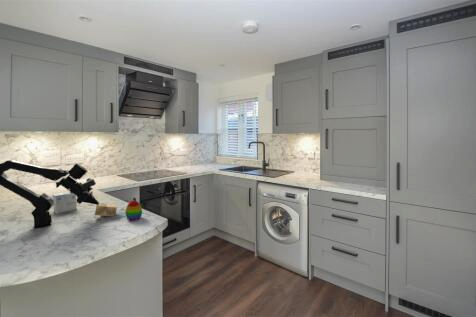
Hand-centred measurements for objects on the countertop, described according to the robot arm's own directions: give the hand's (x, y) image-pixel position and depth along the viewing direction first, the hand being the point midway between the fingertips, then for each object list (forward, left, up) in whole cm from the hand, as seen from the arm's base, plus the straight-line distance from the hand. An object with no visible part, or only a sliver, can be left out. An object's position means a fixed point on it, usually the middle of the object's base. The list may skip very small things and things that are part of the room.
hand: (98, 203), depth 136 cm
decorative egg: (+14, -15, -8) cm, 22 cm away
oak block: (-1, 0, -3) cm, 3 cm away
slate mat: (+7, -2, -8) cm, 10 cm away
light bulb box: (-12, +31, -8) cm, 34 cm away
